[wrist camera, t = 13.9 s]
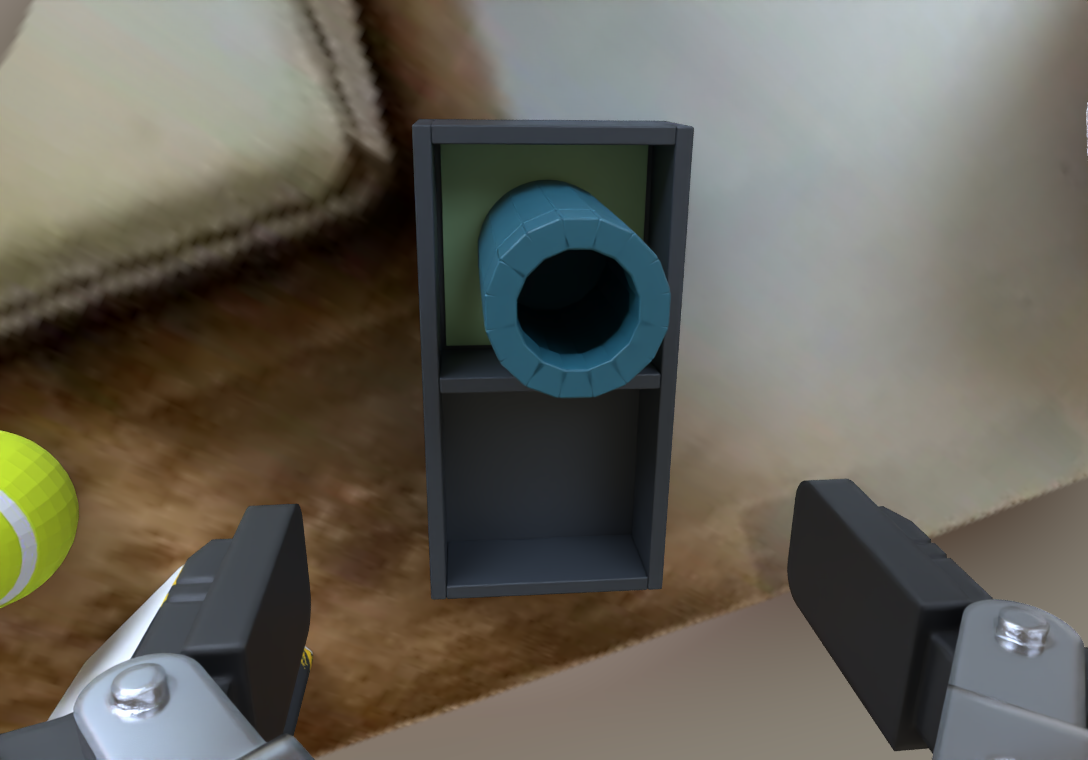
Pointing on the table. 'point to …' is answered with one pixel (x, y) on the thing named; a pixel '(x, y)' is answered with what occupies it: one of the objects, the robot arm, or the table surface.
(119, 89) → the table surface
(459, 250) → the divided tray
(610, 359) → the jar
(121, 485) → the table surface
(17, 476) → the tennis ball
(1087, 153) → the bowl
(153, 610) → the medicine bottle
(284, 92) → the table surface
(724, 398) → the table surface
